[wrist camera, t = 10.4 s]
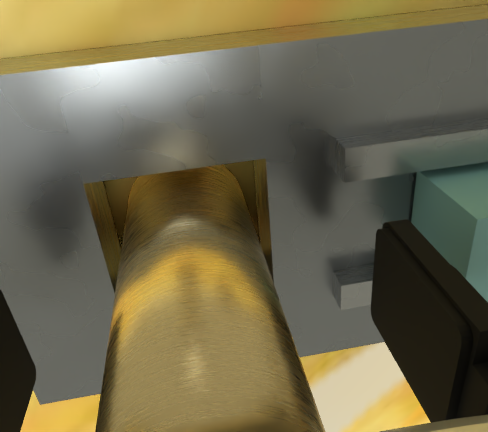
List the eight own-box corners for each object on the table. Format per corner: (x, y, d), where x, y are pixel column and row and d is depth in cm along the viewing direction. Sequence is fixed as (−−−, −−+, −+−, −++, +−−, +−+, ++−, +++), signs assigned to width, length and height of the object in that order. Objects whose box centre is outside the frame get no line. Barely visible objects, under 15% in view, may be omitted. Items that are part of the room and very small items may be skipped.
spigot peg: (238, 146, 15) (340, 393, 6) (247, 246, 17) (335, 537, 8) (115, 162, 15) (50, 448, 6) (140, 263, 17) (116, 586, 8)
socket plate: (685, -18, 15) (810, -13, 12) (586, 259, 20) (656, 309, 17) (-62, 65, 13) (-126, 96, 10) (54, 351, 18) (34, 424, 15)
